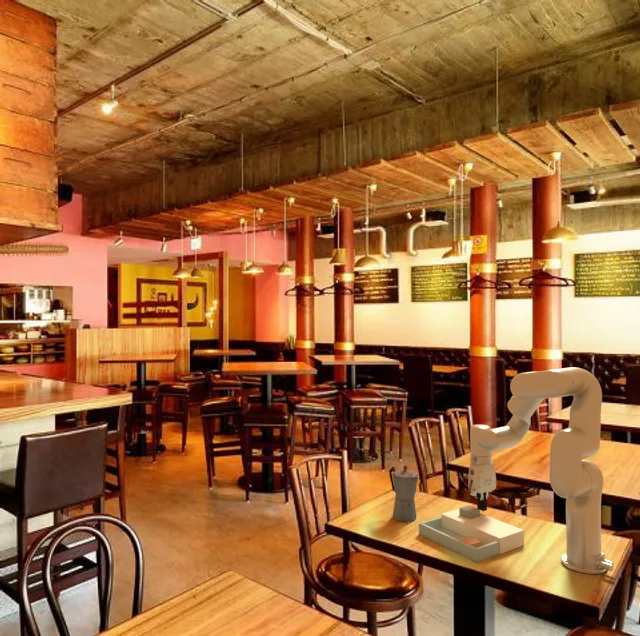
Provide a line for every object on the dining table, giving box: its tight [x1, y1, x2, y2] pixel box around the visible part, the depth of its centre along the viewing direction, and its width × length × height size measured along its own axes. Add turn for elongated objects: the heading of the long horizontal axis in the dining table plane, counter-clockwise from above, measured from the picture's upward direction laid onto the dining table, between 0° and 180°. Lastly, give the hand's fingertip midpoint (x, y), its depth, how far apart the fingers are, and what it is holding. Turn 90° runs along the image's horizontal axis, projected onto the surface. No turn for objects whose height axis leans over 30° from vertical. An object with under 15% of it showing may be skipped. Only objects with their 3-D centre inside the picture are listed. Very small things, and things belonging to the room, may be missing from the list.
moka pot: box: [388, 465, 419, 523], centre depth 202 cm, size 10×15×20 cm, turn 39°
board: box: [440, 508, 525, 555], centre depth 184 cm, size 26×12×5 cm, turn 32°
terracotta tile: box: [459, 536, 481, 548], centre depth 173 cm, size 5×5×2 cm
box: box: [418, 516, 501, 563], centre depth 178 cm, size 26×11×4 cm, turn 32°
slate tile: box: [458, 504, 481, 519], centre depth 189 cm, size 5×5×2 cm
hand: (482, 509), depth 193 cm, fingers closed
